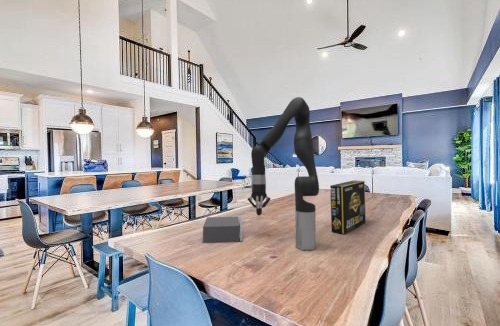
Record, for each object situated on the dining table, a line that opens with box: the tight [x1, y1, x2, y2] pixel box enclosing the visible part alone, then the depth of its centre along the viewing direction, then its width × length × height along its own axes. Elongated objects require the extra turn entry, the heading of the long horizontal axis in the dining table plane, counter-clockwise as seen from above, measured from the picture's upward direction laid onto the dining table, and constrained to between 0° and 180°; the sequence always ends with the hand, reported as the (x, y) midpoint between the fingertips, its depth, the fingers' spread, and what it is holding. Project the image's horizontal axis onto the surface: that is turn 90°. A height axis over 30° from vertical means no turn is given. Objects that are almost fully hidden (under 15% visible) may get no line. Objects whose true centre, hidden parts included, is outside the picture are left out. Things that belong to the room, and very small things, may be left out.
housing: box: [202, 216, 240, 244], centre depth 138 cm, size 18×20×8 cm
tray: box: [238, 216, 243, 242], centre depth 138 cm, size 18×20×8 cm
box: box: [329, 179, 367, 235], centre depth 153 cm, size 34×8×27 cm, turn 137°
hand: (259, 215), depth 139 cm, fingers closed
